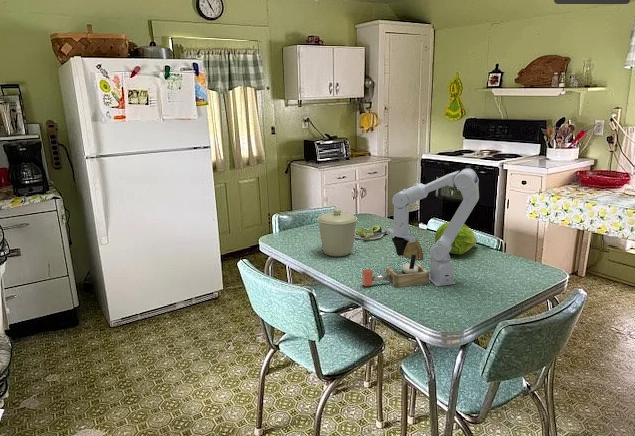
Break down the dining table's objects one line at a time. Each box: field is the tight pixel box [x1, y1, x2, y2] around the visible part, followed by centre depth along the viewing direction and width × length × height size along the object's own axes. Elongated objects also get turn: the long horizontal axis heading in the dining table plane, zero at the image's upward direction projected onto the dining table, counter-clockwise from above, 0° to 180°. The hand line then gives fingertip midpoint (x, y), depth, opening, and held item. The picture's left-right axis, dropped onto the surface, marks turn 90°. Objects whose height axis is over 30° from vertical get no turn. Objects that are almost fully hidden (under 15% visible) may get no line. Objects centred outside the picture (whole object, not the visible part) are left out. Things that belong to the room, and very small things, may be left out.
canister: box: [316, 208, 358, 257], centre depth 207 cm, size 18×18×21 cm
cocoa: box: [401, 255, 419, 274], centre depth 177 cm, size 10×6×12 cm, turn 158°
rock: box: [401, 233, 424, 260], centre depth 201 cm, size 11×9×10 cm
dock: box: [385, 263, 430, 288], centre depth 177 cm, size 10×13×4 cm
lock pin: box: [361, 268, 392, 287], centre depth 173 cm, size 3×11×5 cm, turn 102°
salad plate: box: [354, 224, 387, 241], centre depth 233 cm, size 19×18×5 cm
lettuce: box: [434, 221, 478, 255], centre depth 206 cm, size 15×25×16 cm
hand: (400, 255), depth 182 cm, fingers closed
